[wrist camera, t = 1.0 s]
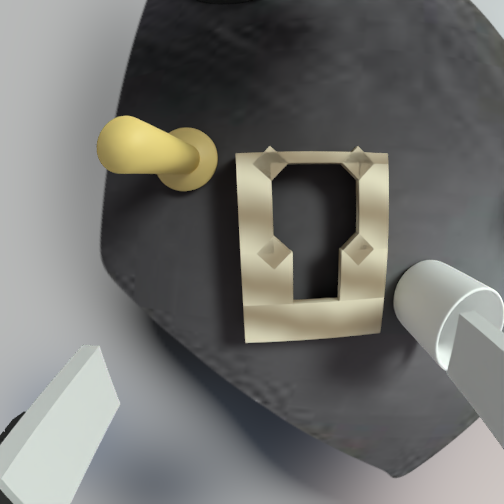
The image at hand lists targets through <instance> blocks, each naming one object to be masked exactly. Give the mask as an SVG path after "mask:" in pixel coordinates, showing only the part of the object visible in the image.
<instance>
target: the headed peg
mask: <svg viewBox="0 0 504 504" xmlns="http://www.w3.org/2000/svg"><path fill="white" fill-rule="evenodd" d="M97 155H98V158H99V160H100V162H101V164H102V165H103V166H104V167H105V168H106V169H107V170H109V171H111V172H113V173H119V174H157V175H158V177H159V178H160V180H161V181H162V182H163V183H164V184H165V185H166V186H168V187H170V188H172V189H174V190H178V191H190V190H194V189H197V188H200V187H202V186H203V185H205V184H206V183H207V182H208V181H209V180H210V179H211V178H212V176H213V175H214V173H215V171H216V168H217V164H218V153H217V149H216V147H215V145H214V143H213V141H212V140H211V139H210V138H209V137H208V136H207V135H206V134H205V133H203V132H202V131H200V130H197V129H194V128H179V129H176V130H173V131H171V132H170V133H166V132H164V131H162V130H160V129H158V128H156V127H154V126H152V125H150V124H148V123H146V122H143V121H141V120H139V119H137V118H135V117H132V116H120V117H117V118H114V119H113V120H111V121H110V122H108V123H107V124H106V125H105V126H104V128H103V129H102V131H101V132H100V135H99V137H98V141H97Z"/></svg>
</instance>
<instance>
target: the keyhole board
mask: <svg viewBox="0 0 504 504" xmlns="http://www.w3.org/2000/svg"><path fill="white" fill-rule="evenodd" d="M287 164H341V165H342V166H343V167H344V168H345V169H346V170H347V171H348V172H349V173H350V174H351V175H352V176H353V178H354V179H355V180H356V232H355V233H354V234H353V235H352V236H351V237H350V238H349V239H348V241H347V242H346V243H345V244H344V245H343V246H342V247H341V248H339V270H338V297H335V298H319V299H302V300H293V252H292V250H289V249H288V248H287V247H286V246H285V245H284V244H283V243H282V242H281V241H280V240H278V239H277V238H276V237H275V236H274V235H273V211H272V184H271V181H272V180H273V179H274V178H275V177H276V176H277V175H278V173H279V172H280V171H281V170H282V169H283V168H284V167H285V166H286V165H287ZM236 173H237V195H238V215H239V235H240V255H241V274H242V292H243V310H244V327H245V343H255V342H278V341H296V340H311V339H324V338H336V337H347V336H357V335H366V334H375V333H380V330H381V322H382V313H383V303H384V293H385V281H386V267H387V250H388V222H389V173H388V154H386V153H365V152H363V151H362V150H361V149H360V148H359V147H358V146H357V147H354V148H353V150H352V151H351V152H276V151H275V150H274V149H273V148H272V147H271V146H269V147H268V148H267V149H266V151H265V152H259V153H237V154H236Z"/></svg>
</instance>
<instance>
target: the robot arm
mask: <svg viewBox="0 0 504 504" xmlns="http://www.w3.org/2000/svg"><path fill="white" fill-rule="evenodd" d="M198 1H202V2H207V3H215V4H233V3H241V2H247V1H252V0H198ZM446 374H447V375H448V376H449V378H450V379H451V380H452V381H453V383H454V384H455V385H456V386H457V388H458V389H459V390H460V391H461V393H462V394H463V395H464V397H465V398H466V399H467V400H468V402H469V403H470V404H471V406H472V407H473V408H474V410H475V411H476V412H477V414H478V415H479V416H480V418H481V419H482V420H483V422H484V423H485V424H486V426H487V427H488V428H489V430H490V431H491V432H492V434H493V435H494V436H495V438H496V439H497V441H498V442H499V443H500V445H501V446H502V448H503V449H504V333H503V332H501V331H500V330H499V329H498V328H496V327H495V326H494V325H493V324H491V323H490V322H489V321H487V320H486V319H485V318H484V317H482V316H481V315H480V314H478V313H477V312H476V311H474V310H472V311H468V312H463V313H459V317H458V322H457V328H456V333H455V338H454V343H453V348H452V352H451V357H450V361H449V365H448V369H447V373H446ZM119 406H120V401H119V399H118V396H117V394H116V391H115V388H114V386H113V383H112V380H111V378H110V375H109V372H108V369H107V367H106V364H105V361H104V358H103V355H102V352H101V349H100V346H91V345H90V346H89V345H82V347H81V348H80V349H79V350H78V351H77V352H76V353H75V354H74V356H73V357H72V358H71V359H70V360H69V361H68V363H67V364H66V365H65V366H64V367H63V368H62V370H61V371H60V372H59V373H58V374H57V375H56V376H55V378H54V379H53V380H52V381H51V382H50V384H49V385H48V386H47V387H46V388H45V389H44V391H43V392H42V393H41V394H40V395H39V397H38V398H37V399H36V400H35V402H34V403H33V404H32V406H31V407H30V408H29V409H28V411H26V412H23V413H21V414H20V415H18V416H17V417H16V418H14V419H13V420H12V421H11V422H10V424H9V425H8V426H7V427H6V429H5V432H2V434H1V435H0V504H71V501H72V499H73V497H74V495H75V493H76V491H77V489H78V487H79V485H80V483H81V481H82V478H83V476H84V474H85V472H86V470H87V468H88V466H89V464H90V462H91V460H92V458H93V456H94V454H95V452H96V450H97V448H98V446H99V444H100V442H101V440H102V438H103V436H104V434H105V432H106V430H107V429H108V427H109V425H110V423H111V421H112V419H113V417H114V415H115V413H116V411H117V409H118V407H119Z"/></svg>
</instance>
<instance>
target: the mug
mask: <svg viewBox="0 0 504 504" xmlns="http://www.w3.org/2000/svg"><path fill="white" fill-rule="evenodd" d="M393 303H394V311H395V314H396V316H397V318H398V320H399V321H400V323H401V324H402V325H403V326H404V327H405V328H406V330H407V331H408V332H409V333H410V334H411V335H412V336H413V337H414V338H415V339H416V340H417V341H418V343H419V344H420V345H421V346H422V347H423V348H424V349H425V350H426V351H427V353H428V354H429V355H430V356H431V357H432V358H433V359H434V360H435V361H436V363H437V364H438V365H439V366H440V367H441V368H442V369H443V370H445V371H447V369H448V365H449V361H450V357H451V352H452V348H453V343H454V338H455V333H456V328H457V322H458V317H459V313H463V312H468V311H472V310H474V311H476V312H477V313H478V314H480V315H481V316H482V317H484V318H485V319H486V320H487V321H489V322H490V323H491V324H493V325H494V326H495V327H496V328H498V329H499V330H500V331H502V328H503V323H504V304H503V301H502V298H501V297H500V295H499V294H498V293H497V292H496V291H495V290H494V289H492V288H490V287H488V286H486V285H485V284H483V283H481V282H479V281H477V280H475V279H474V278H472V277H470V276H468V275H466V274H464V273H462V272H460V271H458V270H457V269H455V268H453V267H451V266H449V265H447V264H445V263H442V262H440V261H436V260H425V261H421V262H419V263H417V264H415V265H413V266H412V267H410V268H409V269H408V270H407V271H406V272H405V273H404V274H403V276H402V277H401V279H400V280H399V282H398V284H397V286H396V289H395V293H394V301H393Z"/></svg>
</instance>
